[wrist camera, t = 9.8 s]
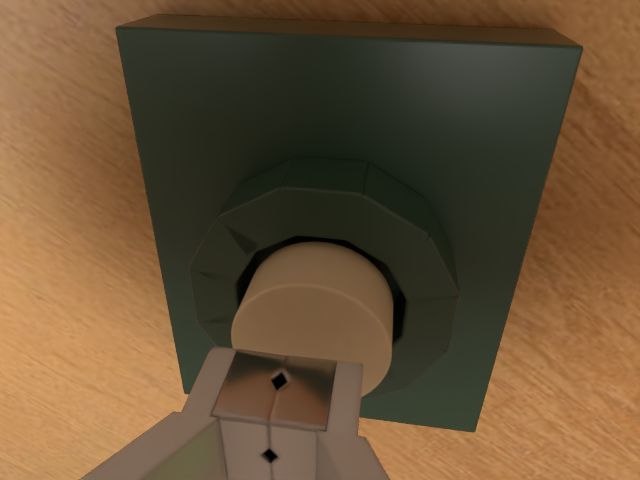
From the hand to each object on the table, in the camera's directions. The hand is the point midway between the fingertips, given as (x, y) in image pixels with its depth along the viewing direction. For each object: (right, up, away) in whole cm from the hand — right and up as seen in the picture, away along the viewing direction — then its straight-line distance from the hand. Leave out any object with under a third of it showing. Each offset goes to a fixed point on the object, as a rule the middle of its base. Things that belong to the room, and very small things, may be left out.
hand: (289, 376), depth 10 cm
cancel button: (+1, +1, +3) cm, 3 cm away
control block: (+1, +3, +6) cm, 6 cm away
